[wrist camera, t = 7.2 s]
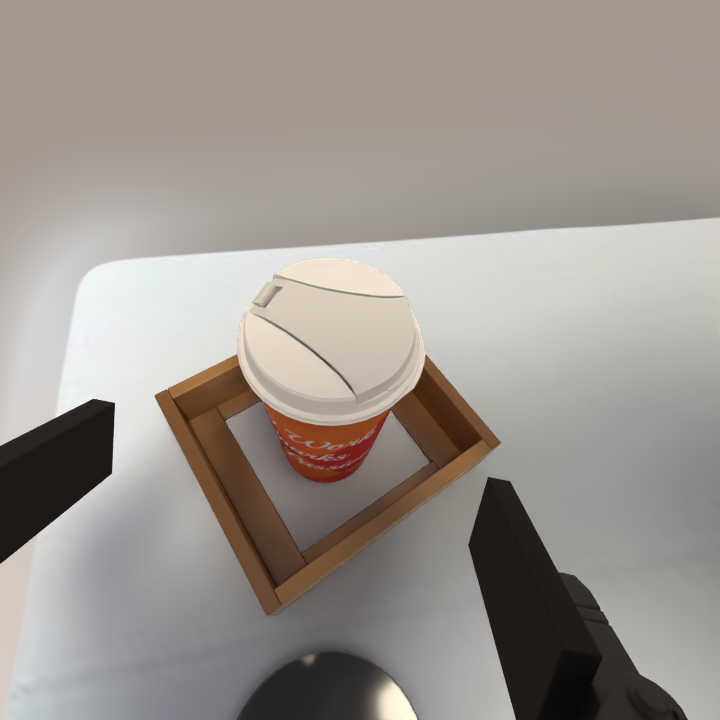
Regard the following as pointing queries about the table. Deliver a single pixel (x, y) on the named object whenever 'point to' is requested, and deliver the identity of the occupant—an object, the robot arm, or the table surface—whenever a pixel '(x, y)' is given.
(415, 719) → the coaster
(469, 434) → the wooden frame
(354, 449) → the paper cup
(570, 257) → the table surface
